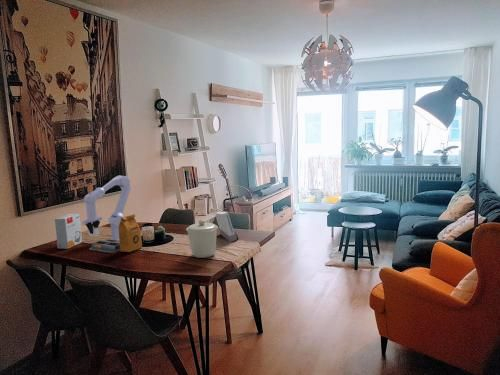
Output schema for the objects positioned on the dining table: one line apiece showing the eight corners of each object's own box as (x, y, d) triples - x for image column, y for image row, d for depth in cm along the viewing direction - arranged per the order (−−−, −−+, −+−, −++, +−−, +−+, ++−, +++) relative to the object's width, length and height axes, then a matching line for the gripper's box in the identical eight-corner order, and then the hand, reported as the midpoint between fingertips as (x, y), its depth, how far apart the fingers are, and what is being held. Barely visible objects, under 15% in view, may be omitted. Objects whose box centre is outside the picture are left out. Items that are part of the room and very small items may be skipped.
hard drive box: (67, 249, 248) (64, 219, 245) (57, 248, 250) (53, 218, 246) (82, 241, 263) (79, 213, 260) (72, 241, 265) (69, 213, 261)
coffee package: (144, 248, 243) (141, 214, 239) (129, 254, 232) (125, 218, 229) (133, 246, 248) (130, 212, 245) (118, 251, 238) (114, 217, 234)
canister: (190, 262, 213) (187, 225, 210) (186, 252, 231) (183, 218, 227) (222, 257, 218) (220, 221, 215) (216, 248, 236) (214, 215, 232)
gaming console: (241, 240, 251) (233, 211, 246) (230, 244, 248) (222, 215, 244) (230, 231, 272) (222, 205, 267) (220, 235, 270) (212, 208, 265)
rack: (103, 244, 255) (103, 239, 254) (126, 247, 246) (126, 242, 245) (89, 249, 244) (88, 244, 244) (112, 253, 235) (111, 247, 235)
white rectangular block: (92, 234, 258) (91, 227, 257) (99, 235, 255) (98, 227, 254) (88, 235, 255) (87, 228, 254) (96, 236, 252) (95, 229, 251)
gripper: (95, 209, 261) (98, 229, 263) (78, 214, 248) (80, 235, 250) (103, 210, 257) (105, 230, 260) (85, 215, 245) (88, 236, 247)
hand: (93, 232), depth 255 cm, fingers closed on white rectangular block, 3 cm apart
